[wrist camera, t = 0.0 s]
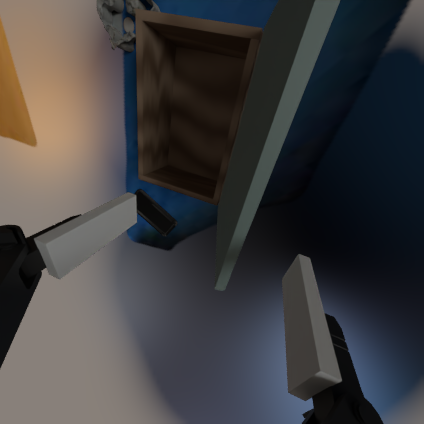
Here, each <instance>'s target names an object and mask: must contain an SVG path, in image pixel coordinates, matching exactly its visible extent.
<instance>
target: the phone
mask: <svg viewBox="0 0 424 424" xmlns="http://www.w3.org/2000/svg"><path fill="white" fill-rule="evenodd" d="M134 195H136V207H137V213H138V214H139V215H140V216H141V217H142V218H144V219H145V220H146V221H147V222H148V223H149V224H150V225H151V226H153V227H154V228H155V229H156V230H157V231H158V232H159V233H160V234H162V235H163V236H167V235H168V234H169V233H170V231H171V230H172V229H173V228H174V227H175V226H176V225H177V221H176V220H175V219H174V218H173V217H172V216H171V215H170V214H169V213H167V212H166V211H165V210H164V209H163V208H162V207H161V206H160V205H159V204H158V203H156V202H155V201H154V200H153V199H152V198H151V197H150V196H149V195H148V194H147V193H145V192H144V191H143V190H142V189H139V190H137V191H136V193H135V194H134Z"/></svg>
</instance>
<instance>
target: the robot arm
mask: <svg viewBox="0 0 424 424" xmlns="http://www.w3.org/2000/svg"><path fill="white" fill-rule="evenodd" d="M135 223H137V207H136V195H134V194H132V193H129V192H128V193H126V194H124V195H122V196H120V197H118V198H116V199H114V200H112V201H110V202H107V203H105V204H103V205H101V206H99V207H97V208H95V209H94V210H91V211H89V212H87V213H85V214H83V215H81V214H80V215H77V216H72V217H70V218H68V219H65V220H63V221H62V222H59V223H57V224H56V225H53V226H51V227H49V228H46V229H44V230H42V231H40V232H38V233H36V234H34V235H32V236H30V237H27V238H25V236H24V234H23V231H22V229H21V228H20V227H19V226H17V225H3V226H0V368H1V366H2V364H3V361H4V359H5V357H6V354H7V352H8V350H9V348H10V345H11V343H12V341H13V339H14V337H15V334H16V332H17V330H18V327H19V325H20V323H21V321H22V319H23V316H24V314H25V312H26V309H27V307H28V305H29V303H30V301H31V298H32V296H33V294H34V292H35V289H36V287H37V285H38V282H39V280H40V278H41V275H42V272H41V270H43V269H45V268H47V270H48V272H49V274H50V275H52V276H54V277H56V278H58V279H61V278H62V277H63V276H65V275H66V274H68V273H69V272H70V271H72V270H73V269H74V268H75V267H77V266H78V265H80V264H81V263H83V262H84V261H85V260H87V259H88V258H89V257H90V256H92V255H93V254H95V253H96V252H97V251H99V250H100V249H101V248H103V247H104V246H105V245H107V244H108V243H109V242H111V241H112V240H114V239H115V238H116V237H117V236H119V235H120V234H121V233H123V232H124V231H126V230H127V229H128V228H130V227H131V226H132V225H134V224H135ZM282 283H283V304H284V322H285V341H286V360H287V377H288V378H287V379H288V393H290V394H292V395H294V396H296V397H298V398H300V399H302V400H304V401H306V400H308V399H310V398H312V399H313V406H314V409H311V410H310V411H307V412H305V413H304V414H303V416H304V418H305V420H304V421H303V422H302V424H383V422H382V420H381V418H380V416H379V414H378V413H377V411H376V410H375V409H374V407H373V406H372V404H371V403H370V402H369V401H367V400H366V399H365V398H364V395H363V393H362V390H361V387H360V384H359V381H358V378H357V375H356V372H355V369H354V366H353V363H352V360H351V356H350V354H349V352H348V347H347V344H346V342H345V338H344V335H343V332H342V329H341V327H340V326H339V324H338V322H337V321H336V319H335V318H334V317H333V316H330V315H328V314H325V313H324V310H323V306H322V302H321V299H320V295H319V291H318V287H317V283H316V280H315V276H314V272H313V268H312V264H311V261H310V258H308V257H305V256H303V255H300V254H298V256H297V257H296V259H295V260H294V262H293V263H292V265H291V267H290V268H289V269H288V271H287V272H286V274H285V276H284V277H283V279H282Z"/></svg>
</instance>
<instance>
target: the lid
mask: <svg viewBox="0 0 424 424" xmlns="http://www.w3.org/2000/svg"><path fill="white" fill-rule="evenodd" d="M339 2H340V0H279V1H278V3H277V5H276V6H275V8H274V10H273V12H272V14H271V16H270V18H269V20H268V22H267V24H266V26H265V28H264V31H263V35H262V39H261V43H260V47H259V51H258V55H257V58H256V62H255V66H254V70H253V74H252V78H251V82H250V85H249V89H248V93H247V97H246V101H245V105H244V109H243V112H242V116H241V120H240V124H239V128H238V132H237V136H236V139H235V143H234V147H233V151H232V155H231V159H230V163H229V166H228V170H227V174H226V178H225V182H224V186H223V190H222V193H221V197H220V201H219V205H218V220H217V246H216V269H215V289H216V290H222V291H224V290H225V288H226V285H227V282H228V280H229V278H230V275H231V273H232V270H233V268H234V265H235V263H236V260H237V258H238V255H239V253H240V250H241V248H242V245H243V242H244V240H245V238H246V235H247V233H248V230H249V228H250V225H251V223H252V220H253V218H254V215H255V213H256V210H257V208H258V205H259V203H260V200H261V198H262V195H263V193H264V190H265V188H266V185H267V183H268V180H269V178H270V175H271V173H272V170H273V168H274V165H275V162H276V160H277V157H278V155H279V152H280V150H281V147H282V145H283V142H284V140H285V137H286V135H287V132H288V130H289V127H290V125H291V122H292V120H293V117H294V115H295V112H296V110H297V107H298V105H299V102H300V100H301V97H302V95H303V92H304V90H305V87H306V85H307V82H308V80H309V77H310V75H311V72H312V70H313V67H314V65H315V62H316V60H317V57H318V55H319V52H320V50H321V47H322V45H323V42H324V40H325V37H326V35H327V32H328V30H329V27H330V25H331V22H332V20H333V17H334V15H335V12H336V10H337V7H338V5H339Z"/></svg>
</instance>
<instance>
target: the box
mask: <svg viewBox="0 0 424 424" xmlns="http://www.w3.org/2000/svg"><path fill="white" fill-rule="evenodd" d="M135 10H136V64H137V118H138V172H139V179H141V180H144V181H146V182H149V183H152V184H155V185H158V186H161V187H164V188H167V189H170V190H173V191H176V192H179V193H182V194H185V195H188V196H190V197H193V198H196V199H199V200H202V201H205V202H208V203H211V204H214V205H218V203H219V201H220V197H221V193H222V190H223V186H224V182H225V178H226V174H227V170H228V166H229V163H230V159H231V155H232V151H233V147H234V143H235V139H236V136H237V132H238V128H239V124H240V120H241V116H242V112H243V109H244V105H245V101H246V97H247V93H248V89H249V85H250V82H251V78H252V74H253V70H254V66H255V62H256V58H257V55H258V51H259V47H260V43H261V39H262V35H263V31H262V28H257V27H251V26H245V25H238V24H232V23H225V22H219V21H213V20H206V19H200V18H193V17H187V16H181V15H174V14H168V13H161V12H155V11H149V10H142V9H136V8H135Z"/></svg>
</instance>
